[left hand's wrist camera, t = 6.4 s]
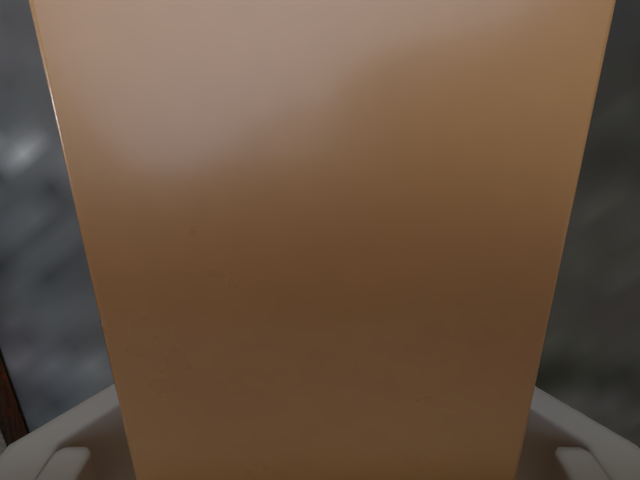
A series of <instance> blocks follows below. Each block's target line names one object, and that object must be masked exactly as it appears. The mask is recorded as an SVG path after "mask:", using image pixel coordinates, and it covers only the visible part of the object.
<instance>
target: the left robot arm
mask: <svg viewBox="0 0 640 480" xmlns="http://www.w3.org/2000/svg"><path fill="white" fill-rule="evenodd" d="M0 480H136V477H135V472H134V468H133V463H132V459H131V454H130V450H129V445H128V441H127V437H126V432H125V428H124V423H123V419H122V414H121V410H120V405H119V401H118V396H117V392H116V388H115V383H114V384H112V385H111V386H109V387H107V388H105V389H104V390H102V391H100V392H99V393H97V394H95V395H94V396H92V397H90V398H88V399H87V400H85V401H83V402H82V403H80V404H78V405H77V406H75V407H73V408H71V409H70V410H68V411H66V412H65V413H63V414H61V415H60V416H58V417H56V418H54V419H53V420H51V421H49V422H48V423H46V424H44V425H43V426H41V427H39V428H37V429H36V430H34V431H32V432H31V433H29V434H27V435H25V436H24V437H22V438H20V439H19V440H17V441H15V442H14V443H12V444H10V445H9V446H8V447H7V448H6V450H5V451H4V452H3V453H2V454H1V456H0ZM515 480H640V449H639V447H638V446H637V445H635V444H633V443H632V442H630V441H628V440H626V439H625V438H623V437H621V436H620V435H618V434H616V433H614V432H613V431H611V430H609V429H608V428H606V427H604V426H602V425H601V424H599V423H597V422H596V421H594V420H592V419H590V418H589V417H587V416H585V415H584V414H582V413H580V412H578V411H577V410H575V409H573V408H572V407H570V406H568V405H566V404H565V403H563V402H561V401H560V400H558V399H556V398H555V397H553V396H551V395H549V394H548V393H546V392H544V391H543V390H541V389H539V388H537V387H536V386H535V388H534V393H533V398H532V403H531V407H530V412H529V417H528V422H527V426H526V431H525V436H524V441H523V445H522V450H521V455H520V460H519V465H518V469H517V474H516V479H515Z"/></svg>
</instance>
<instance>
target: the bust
mask: <svg viewBox="0 0 640 480" xmlns="http://www.w3.org/2000/svg"><path fill="white" fill-rule="evenodd" d="M25 435H27V431H26V428H25V425H24V422H23V419H22V417H21V414H20V411H19V408H18V405H17V402H16V400H15V397H14V394H13V391H12V388H11V386H10V383H9V380H8V377H7V374H6V371H5V369H4V366H3V363H2V360H1V357H0V456H1V454H2V453H3V452H4V451H5V450H6V448H7V447H8V446H9V445H10V444H12V443H14V442H15V441H17V440H19V439H20V438H22V437H24V436H25Z"/></svg>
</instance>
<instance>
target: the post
mask: <svg viewBox="0 0 640 480" xmlns="http://www.w3.org/2000/svg"><path fill="white" fill-rule="evenodd" d="M615 2H616V0H29V4H30V9H31V13H32V17H33V22H34V26H35V31H36V35H37V40H38V44H39V49H40V53H41V58H42V62H43V67H44V71H45V75H46V80H47V84H48V89H49V93H50V98H51V102H52V107H53V111H54V116H55V120H56V124H57V129H58V133H59V138H60V142H61V147H62V151H63V156H64V160H65V165H66V169H67V174H68V178H69V182H70V187H71V191H72V196H73V200H74V205H75V209H76V214H77V218H78V223H79V227H80V231H81V236H82V240H83V245H84V249H85V254H86V258H87V263H88V267H89V272H90V276H91V281H92V285H93V289H94V294H95V298H96V303H97V307H98V312H99V316H100V321H101V325H102V330H103V334H104V338H105V343H106V347H107V352H108V356H109V361H110V365H111V370H112V374H113V379H114V383H115V388H116V392H117V396H118V401H119V405H120V410H121V414H122V419H123V423H124V428H125V432H126V437H127V441H128V445H129V450H130V454H131V459H132V463H133V468H134V472H135V477H136V480H515V479H516V474H517V469H518V465H519V460H520V455H521V450H522V445H523V441H524V436H525V431H526V426H527V422H528V417H529V412H530V407H531V403H532V398H533V393H534V388H535V383H536V379H537V374H538V369H539V364H540V360H541V355H542V350H543V345H544V341H545V336H546V331H547V326H548V322H549V317H550V312H551V307H552V302H553V298H554V293H555V288H556V283H557V279H558V274H559V269H560V264H561V260H562V255H563V250H564V245H565V240H566V236H567V231H568V226H569V221H570V217H571V212H572V207H573V202H574V198H575V193H576V188H577V183H578V178H579V174H580V169H581V164H582V159H583V155H584V150H585V145H586V140H587V136H588V131H589V126H590V121H591V117H592V112H593V107H594V102H595V97H596V93H597V88H598V83H599V78H600V74H601V69H602V64H603V59H604V55H605V50H606V45H607V40H608V35H609V31H610V26H611V21H612V16H613V12H614V7H615Z"/></svg>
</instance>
